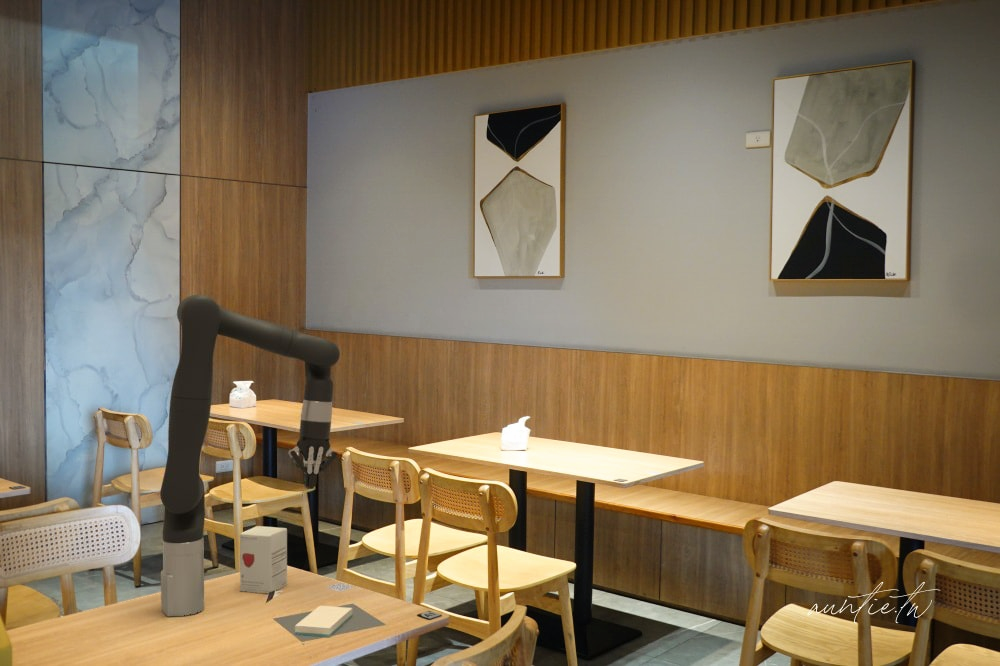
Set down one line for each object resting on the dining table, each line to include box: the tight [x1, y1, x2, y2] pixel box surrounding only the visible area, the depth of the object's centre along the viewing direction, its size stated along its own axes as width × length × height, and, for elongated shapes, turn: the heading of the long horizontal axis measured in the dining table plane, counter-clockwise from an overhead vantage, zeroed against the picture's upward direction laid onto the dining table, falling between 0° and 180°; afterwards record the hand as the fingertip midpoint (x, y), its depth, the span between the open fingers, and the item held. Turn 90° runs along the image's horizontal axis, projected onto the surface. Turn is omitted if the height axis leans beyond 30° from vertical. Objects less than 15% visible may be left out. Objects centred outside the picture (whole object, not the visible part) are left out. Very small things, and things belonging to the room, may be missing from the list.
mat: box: [272, 603, 387, 643], centre depth 220 cm, size 20×18×1 cm
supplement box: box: [239, 525, 288, 595], centre depth 247 cm, size 9×9×15 cm
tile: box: [295, 605, 352, 638], centre depth 217 cm, size 2×8×14 cm
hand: (309, 488), depth 240 cm, fingers closed
